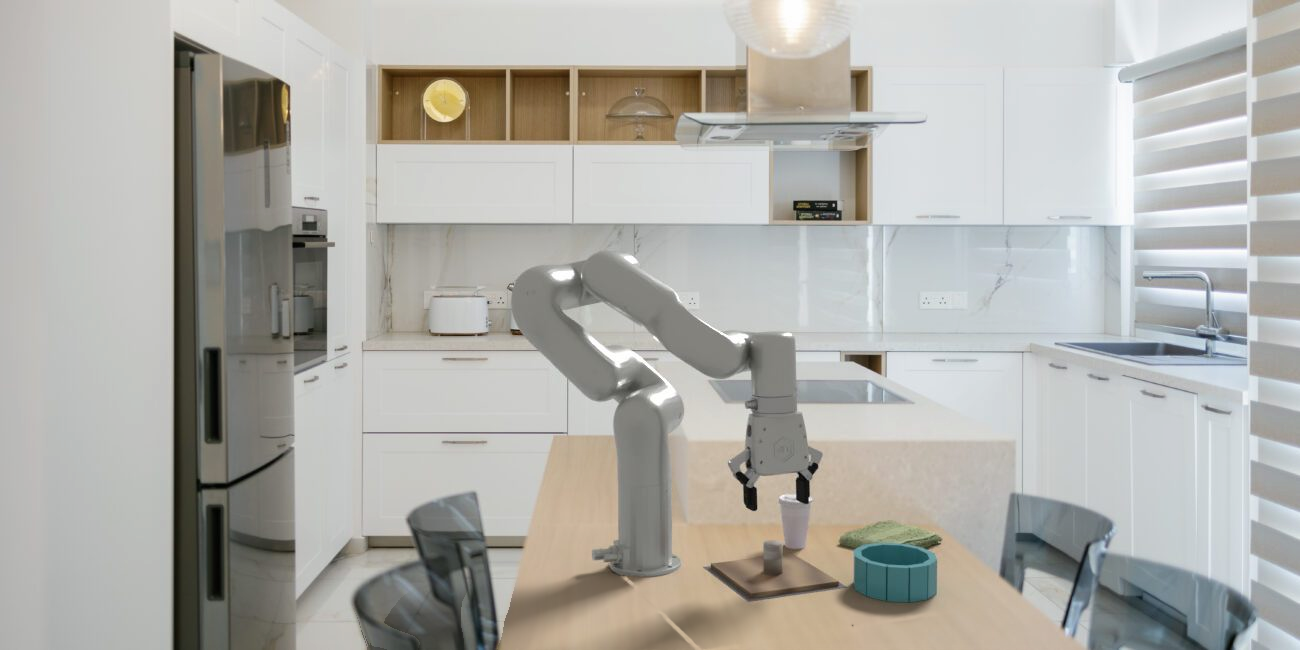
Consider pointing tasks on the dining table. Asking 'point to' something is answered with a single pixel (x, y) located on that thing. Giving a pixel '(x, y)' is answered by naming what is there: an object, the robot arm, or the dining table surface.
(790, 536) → the smoothie
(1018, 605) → the dining table surface
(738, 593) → the mat
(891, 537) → the washcloth
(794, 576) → the cover
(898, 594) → the bowl
